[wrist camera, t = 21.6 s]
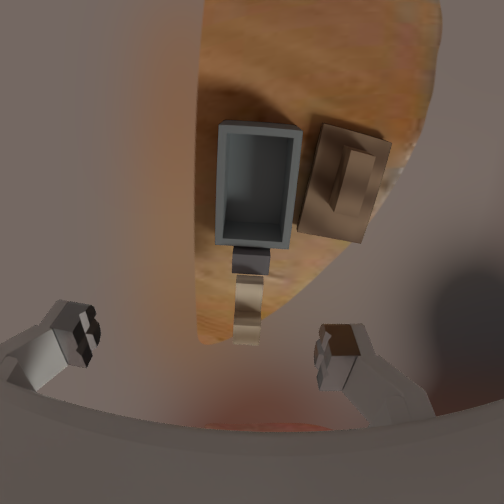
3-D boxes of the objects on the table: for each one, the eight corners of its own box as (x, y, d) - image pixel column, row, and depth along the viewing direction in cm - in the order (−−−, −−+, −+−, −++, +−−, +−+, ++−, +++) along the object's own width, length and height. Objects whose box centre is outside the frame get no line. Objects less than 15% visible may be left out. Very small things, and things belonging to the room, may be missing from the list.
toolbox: (224, 119, 41) (217, 125, 34) (295, 125, 42) (304, 132, 34) (219, 244, 51) (213, 271, 44) (282, 248, 51) (286, 276, 44)
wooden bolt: (236, 274, 43) (234, 296, 39) (263, 276, 44) (263, 298, 39) (234, 320, 47) (232, 343, 43) (258, 322, 48) (258, 345, 43)
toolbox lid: (320, 122, 42) (330, 126, 37) (386, 140, 42) (402, 147, 37) (295, 226, 49) (300, 242, 44) (357, 237, 50) (367, 254, 45)
